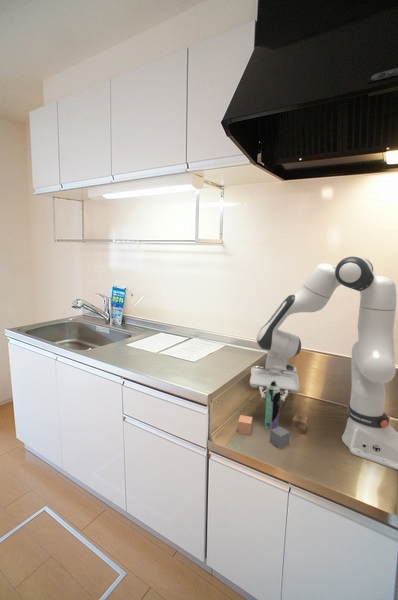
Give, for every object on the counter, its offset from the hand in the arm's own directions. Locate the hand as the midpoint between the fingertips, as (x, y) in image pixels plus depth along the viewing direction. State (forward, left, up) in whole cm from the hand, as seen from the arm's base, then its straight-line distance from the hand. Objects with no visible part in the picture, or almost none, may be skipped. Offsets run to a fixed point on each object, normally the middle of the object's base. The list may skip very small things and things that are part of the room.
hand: (272, 399), depth 122 cm
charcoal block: (-8, +6, -12) cm, 16 cm away
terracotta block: (+6, +9, -12) cm, 17 cm away
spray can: (0, -1, -13) cm, 13 cm away
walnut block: (-9, -8, -12) cm, 17 cm away
